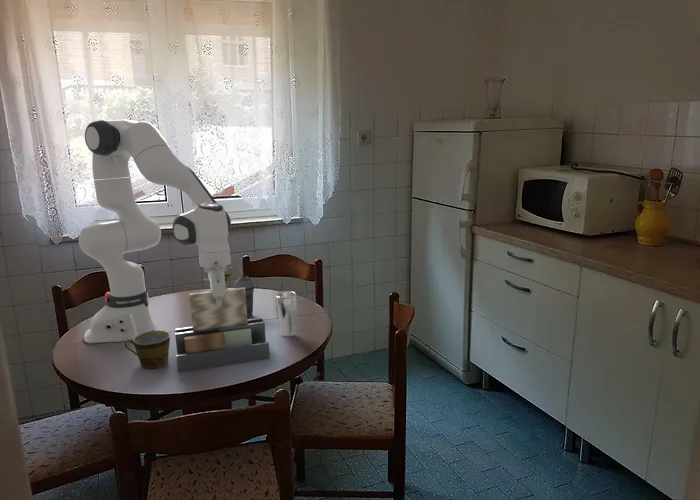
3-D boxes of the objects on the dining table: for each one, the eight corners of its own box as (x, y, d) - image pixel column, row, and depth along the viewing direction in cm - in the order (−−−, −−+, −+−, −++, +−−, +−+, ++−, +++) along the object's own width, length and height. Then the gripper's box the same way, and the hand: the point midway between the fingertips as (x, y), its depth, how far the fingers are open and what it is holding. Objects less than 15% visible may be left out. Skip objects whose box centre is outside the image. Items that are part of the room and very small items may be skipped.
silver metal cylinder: (300, 339, 172) (298, 296, 168) (279, 342, 170) (277, 298, 166) (296, 331, 178) (294, 290, 175) (276, 334, 176) (273, 292, 173)
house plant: (202, 309, 201) (198, 269, 197) (196, 299, 213) (192, 260, 209) (238, 303, 207) (235, 264, 203) (231, 293, 219) (228, 256, 215)
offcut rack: (178, 377, 148) (175, 343, 145) (178, 361, 158) (175, 328, 155) (270, 363, 155) (268, 330, 153) (264, 348, 166) (262, 317, 163)
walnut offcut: (187, 368, 149) (184, 339, 147) (187, 365, 151) (184, 337, 149) (226, 363, 153) (224, 334, 151) (225, 360, 155) (223, 331, 152)
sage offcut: (222, 359, 155) (220, 334, 153) (221, 357, 157) (219, 332, 155) (252, 355, 157) (251, 330, 156) (251, 352, 159) (250, 328, 157)
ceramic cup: (177, 360, 158) (174, 330, 156) (166, 376, 148) (163, 343, 146) (134, 361, 158) (130, 331, 156) (121, 377, 148) (116, 345, 146)
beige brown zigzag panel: (195, 358, 156) (189, 294, 151) (195, 356, 158) (189, 293, 153) (249, 350, 161) (245, 288, 156) (248, 348, 162) (244, 287, 157)
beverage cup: (251, 320, 189) (248, 267, 184) (233, 319, 190) (229, 266, 186) (259, 313, 196) (255, 262, 191) (240, 312, 197) (237, 261, 192)
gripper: (229, 266, 143) (232, 313, 147) (223, 249, 162) (226, 292, 166) (205, 269, 141) (209, 316, 145) (202, 251, 160) (205, 294, 164)
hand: (218, 303), depth 155 cm, fingers closed
